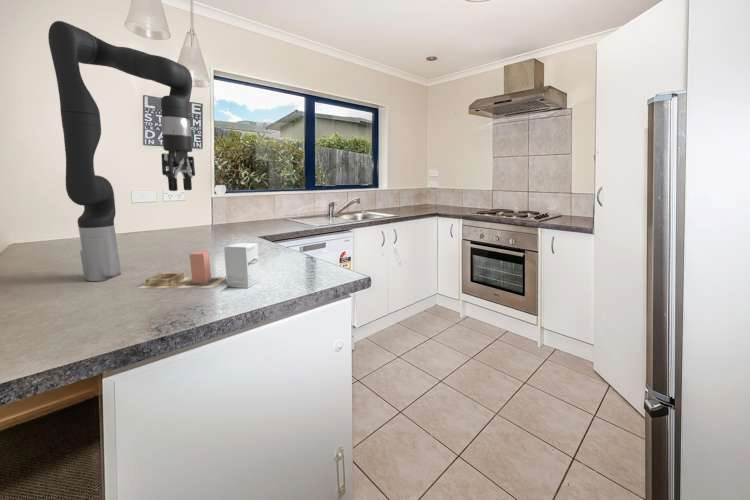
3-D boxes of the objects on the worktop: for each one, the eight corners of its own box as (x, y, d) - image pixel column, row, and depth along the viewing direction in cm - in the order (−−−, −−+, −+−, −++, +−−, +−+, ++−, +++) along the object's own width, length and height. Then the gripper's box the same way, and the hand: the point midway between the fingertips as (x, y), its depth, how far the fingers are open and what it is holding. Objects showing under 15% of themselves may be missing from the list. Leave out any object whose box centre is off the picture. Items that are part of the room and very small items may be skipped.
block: (192, 283, 109) (189, 254, 107) (198, 279, 113) (195, 251, 111) (205, 283, 109) (203, 254, 107) (211, 279, 113) (208, 251, 111)
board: (137, 291, 105) (135, 281, 105) (158, 280, 116) (157, 271, 116) (213, 290, 106) (212, 280, 105) (227, 280, 117) (226, 271, 116)
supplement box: (248, 288, 108) (245, 247, 106) (226, 287, 110) (222, 246, 107) (260, 281, 115) (258, 243, 113) (239, 280, 117) (236, 242, 114)
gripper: (177, 132, 99) (181, 191, 102) (201, 137, 113) (204, 190, 116) (149, 131, 99) (154, 190, 102) (176, 137, 113) (180, 189, 116)
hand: (180, 190), depth 109 cm, fingers open, 8 cm apart
